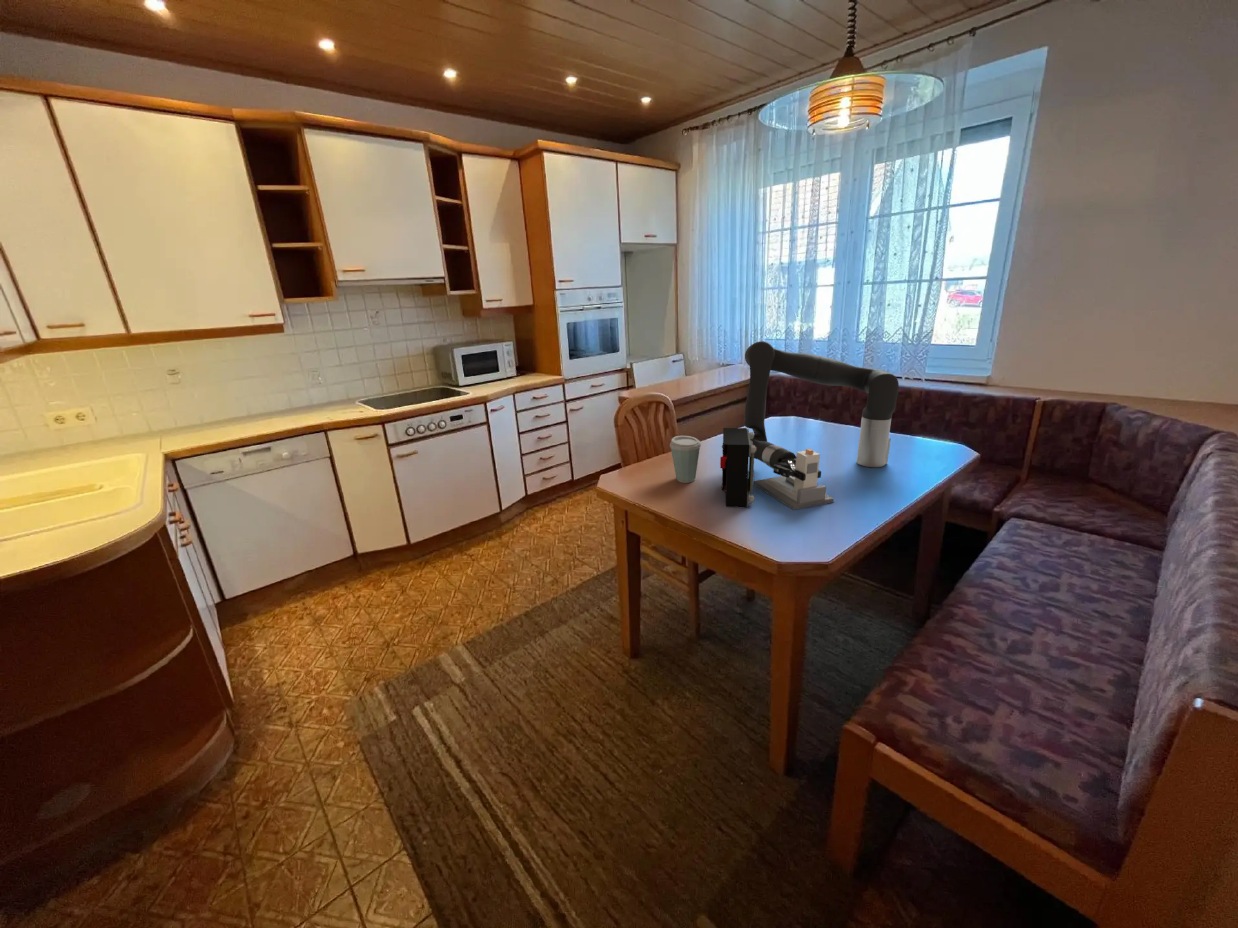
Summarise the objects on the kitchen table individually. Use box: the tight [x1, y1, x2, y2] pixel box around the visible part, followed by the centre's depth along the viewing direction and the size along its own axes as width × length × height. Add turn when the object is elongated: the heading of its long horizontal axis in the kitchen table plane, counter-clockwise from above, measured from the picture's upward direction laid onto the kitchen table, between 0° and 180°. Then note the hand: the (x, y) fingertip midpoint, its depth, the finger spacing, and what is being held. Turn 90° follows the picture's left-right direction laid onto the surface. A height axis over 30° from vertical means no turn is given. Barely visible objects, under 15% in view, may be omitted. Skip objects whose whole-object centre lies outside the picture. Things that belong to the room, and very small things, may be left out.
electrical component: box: [719, 427, 756, 509], centre depth 154 cm, size 18×10×20 cm, turn 168°
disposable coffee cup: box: [669, 435, 701, 484], centre depth 169 cm, size 11×11×15 cm
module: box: [794, 448, 821, 494], centre depth 148 cm, size 5×5×15 cm
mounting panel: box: [753, 475, 835, 511], centre depth 156 cm, size 14×22×5 cm, turn 17°
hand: (812, 476), depth 145 cm, fingers closed on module, 4 cm apart
